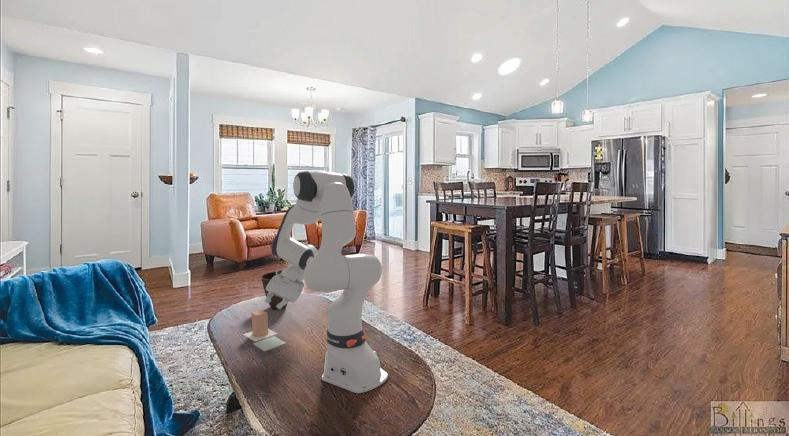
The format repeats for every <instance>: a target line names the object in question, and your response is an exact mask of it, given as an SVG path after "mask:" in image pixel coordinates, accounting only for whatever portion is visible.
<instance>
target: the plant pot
mask: <svg viewBox="0 0 789 436" xmlns="http://www.w3.org/2000/svg"><path fill="white" fill-rule="evenodd" d="M276 272H277V271H272V272H267V273H265V274H262V275H261V282H262V288H263V291H264V293H265V298H267V295H268V293H269V291H267V290H266V286H267V284H268V283H269V282H270V280H271V279H272V278H273V277H274V276H275V275H276ZM282 301H283V298H281V297H279V296H276V295H274V296H273V297H272V298H271V302H270V303H269V304H268V305H269V307H270V308H271V309H272V310H279V309H278V308H277V307H276V306H277V304H278V303H279V304H280V302H282ZM287 306H288V303H287V304H286V305H284V306H283V307H282V308H281V309H280V310H283V309H285V308H286V307H287Z"/></svg>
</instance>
